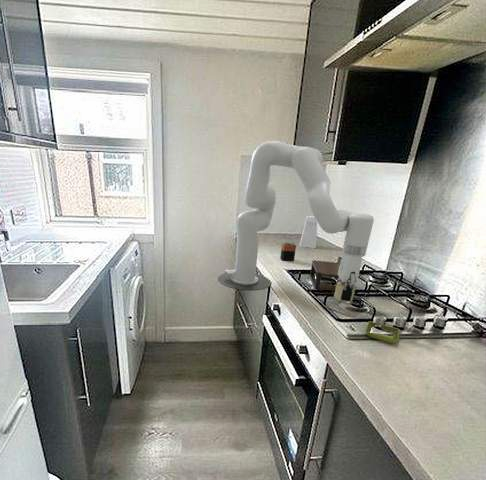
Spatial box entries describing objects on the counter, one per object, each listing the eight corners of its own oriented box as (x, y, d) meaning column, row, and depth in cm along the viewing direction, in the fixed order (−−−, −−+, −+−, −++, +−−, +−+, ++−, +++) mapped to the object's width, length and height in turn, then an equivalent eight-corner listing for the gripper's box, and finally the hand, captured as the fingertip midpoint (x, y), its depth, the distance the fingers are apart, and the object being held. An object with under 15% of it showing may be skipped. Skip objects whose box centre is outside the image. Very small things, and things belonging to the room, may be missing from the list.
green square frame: (367, 326, 97) (368, 320, 97) (398, 334, 93) (400, 328, 92) (363, 337, 90) (365, 331, 90) (396, 347, 86) (398, 340, 85)
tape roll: (335, 300, 110) (338, 286, 108) (332, 293, 115) (335, 280, 114) (354, 303, 108) (357, 288, 107) (350, 296, 114) (353, 282, 112)
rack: (314, 291, 125) (318, 265, 122) (309, 276, 144) (313, 254, 140) (345, 294, 123) (350, 269, 120) (336, 279, 142) (340, 256, 138)
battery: (279, 258, 171) (282, 241, 168) (291, 259, 172) (293, 241, 169) (282, 260, 167) (284, 243, 164) (294, 261, 168) (296, 243, 165)
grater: (299, 243, 213) (303, 215, 207) (315, 245, 211) (320, 216, 204) (299, 246, 204) (304, 217, 197) (316, 248, 201) (321, 218, 195)
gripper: (338, 243, 114) (329, 286, 120) (348, 254, 98) (336, 304, 104) (359, 245, 113) (349, 289, 119) (372, 257, 97) (359, 307, 103)
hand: (343, 296), depth 112 cm, fingers closed on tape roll, 6 cm apart
